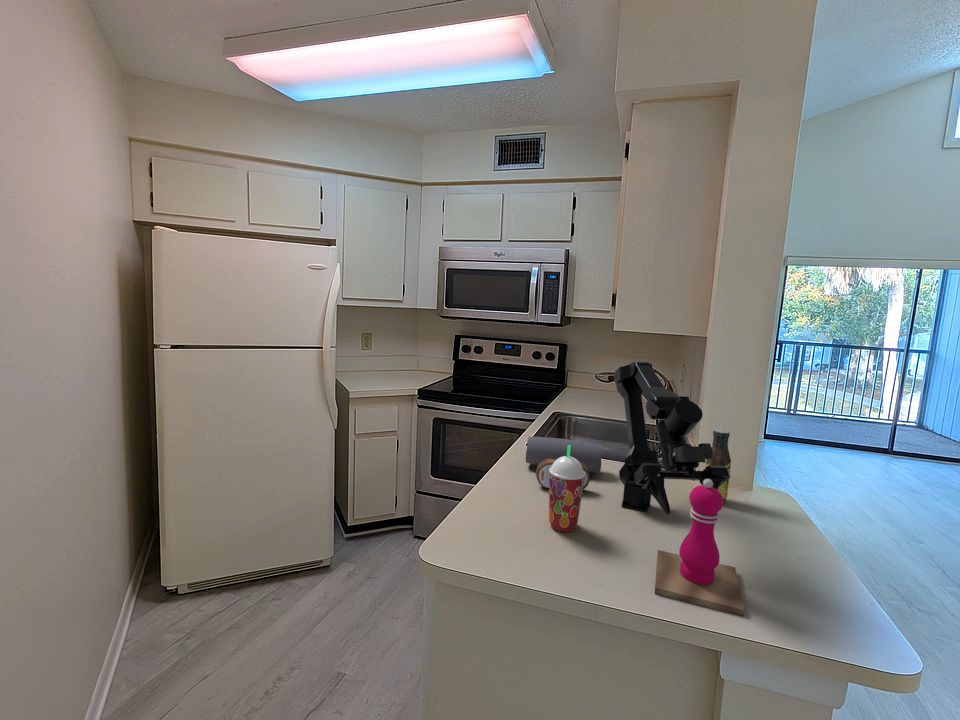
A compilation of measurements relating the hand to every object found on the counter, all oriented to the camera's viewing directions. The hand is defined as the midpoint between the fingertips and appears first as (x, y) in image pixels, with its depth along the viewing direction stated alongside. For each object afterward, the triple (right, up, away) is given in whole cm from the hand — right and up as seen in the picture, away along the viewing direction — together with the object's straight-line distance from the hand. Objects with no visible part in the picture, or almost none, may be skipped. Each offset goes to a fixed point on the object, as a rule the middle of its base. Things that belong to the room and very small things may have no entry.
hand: (690, 514), depth 101 cm
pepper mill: (0, -11, -3) cm, 12 cm away
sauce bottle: (+22, -8, +37) cm, 44 cm away
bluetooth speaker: (-17, -3, +54) cm, 57 cm away
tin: (-20, -5, +39) cm, 44 cm away
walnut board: (0, -12, -4) cm, 13 cm away
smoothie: (-23, -8, +17) cm, 30 cm away
